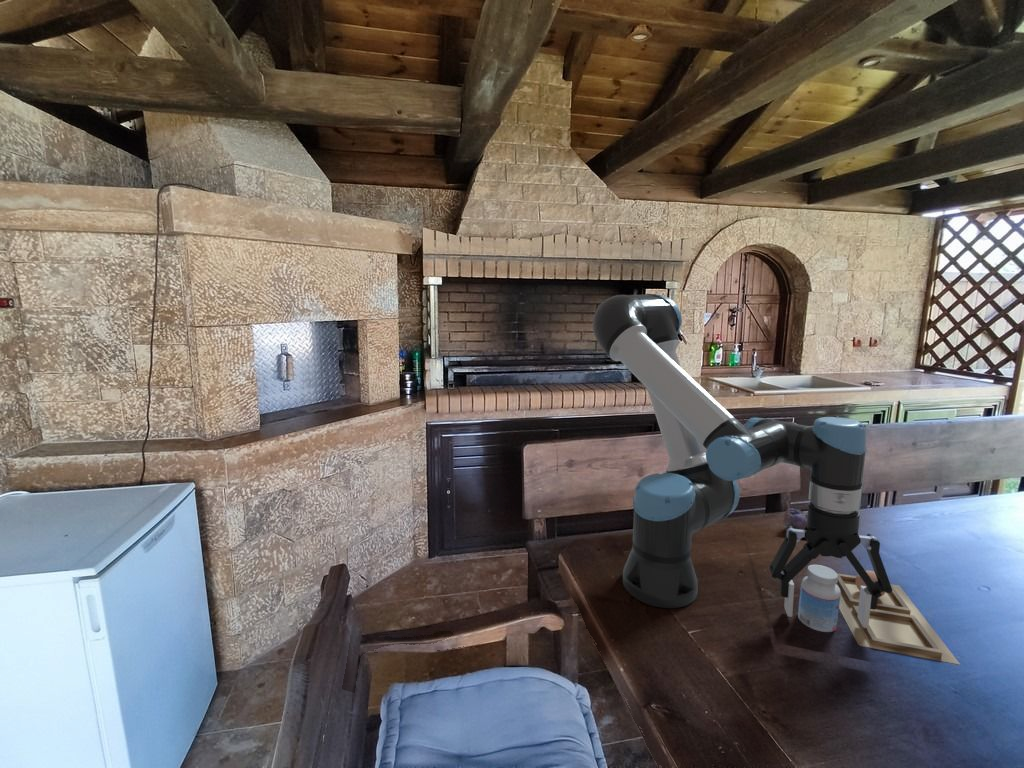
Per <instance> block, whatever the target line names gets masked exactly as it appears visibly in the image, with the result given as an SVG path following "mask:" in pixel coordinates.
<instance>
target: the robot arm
mask: <svg viewBox="0 0 1024 768" xmlns="http://www.w3.org/2000/svg"><path fill="white" fill-rule="evenodd" d="M682 324H683V318H682V313H681V311H680V308H679V306H678V305H677V304H676V302H674V300H672V299H671V298H669V297H667V296H666V295H662V294H657V293H645V294H617V295H613V296H611V297H607V299H605V300H603V301H602V302H601V303H600V304H599V306H598V307H597V308H596V311H595V312H594V315H593V318H592V331H593V335H594V338H595V340H596V342H597V344H598V345H599V346H600V348H601V349H602V350H603V351H604V352H605V354H606V355H607V356H608V357H609V358H610V359H611V360H612V361H614V362H621V364H623V365H624V366H625V368H627V370H628V371H630V372H631V374H632V375H634V377H635V378H637V380H638V381H639V382H640V383H641V384H643V386H644V387H645V388H646V389H647V392H648V395H649V398H650V402H651V405H652V408H653V411H654V415H655V417H656V420H657V424H658V427H659V430H660V434H661V437H662V440H663V443H664V447H665V450H666V452H667V456H668V461H669V462H668V464H667V465H666V467H665V472H662V473H658V472H656V473H652V474H648V475H646V476H644V477H643V478H641V479H640V480H639V481H638V482H637V483H636V485H635V490H634V495H633V501H632V506H633V517H632V518H633V520H632V547H631V550H630V552H629V555H628V556H627V560H626V562H625V564H624V566H623V570H622V584H623V587H624V588H625V590H626V592H628V594H629V595H630V596H631V597H633V598H635V599H636V600H637V601H640V602H641V603H644V604H646V605H649V606H652V607H657V608H661V609H662V608H663V609H678V608H679V609H680V608H682V607H683V608H684V607H686V606H689V605H690V604H692V603H693V602H694V601H696V598H697V596H698V585H699V584H698V583H699V582H698V578H697V575H696V572H695V568H694V564H693V560H692V557H691V555H692V553H691V550H692V538H693V537H692V536H693V534H695V533H697V532H699V531H701V530H703V529H705V528H706V527H708V526H711V525H713V524H715V523H718V522H721V521H722V520H725V519H726V518H727V517H728V516H729V515H731V514H732V513H733V512H734V511H735V510H736V508H737V506H738V505H739V501H740V495H741V493H740V488H739V484H738V480H739V481H740V480H743V479H747V478H750V477H752V476H755V475H756V474H758V473H759V472H761V471H763V470H765V469H768V468H771V467H774V466H775V465H777V464H780V463H785V464H787V465H788V464H789V465H792V466H793V465H794V466H797V467H801V468H807V469H810V470H809V471H810V472H809V473H810V475H809V487H808V500H809V502H808V505H807V514H808V515H807V526H806V527H805V529H804V530H800V529H793V527H792V526H788V527H787V528H785V537H784V539H783V541H782V543H781V545H780V546H779V549H778V550H777V552H776V554H775V556H774V558H773V560H772V561H771V564H770V565H769V568H768V569H769V571H770V572H769V573H770V575H771V577H772V578H773V579H778V580H779V588H778V589H779V593H780V596H781V597H782V598H784V603H783V604H784V606H783V607H784V608H783V609H784V611H785V612H786V615H787V617H790V618H791V617H792V618H793V610H794V609H793V608H794V594H795V593H794V592H795V583H794V581H793V579H794V578H795V577H796V576H797V575H798V574H799V573H800V572H802V570H803V569H804V568H805V567H806V566H807V565H808V564H809V563H810V562H811V561H813V560H815V559H817V558H818V557H819V556H820V557H833V558H836V559H842V558H844V557H846V558H847V560H848V561H849V563H850V565H851V566H852V567H853V568H854V569H855V571H856V572H857V575H858V574H859V575H860V577H861V578H862V580H863V581H864V582H865V584H866V585H867V588H866V586H861V587H860V597H859V607H858V620H859V621H860V623H861V625H862V627H863V628H868V625H869V616H870V609H873V610H875V609H876V607H877V598H878V597H880V596H881V592H886V593H891V592H892V587H891V585H890V584H891V582H890V580H889V577H888V574H887V571H886V568H885V565H884V562H883V560H882V558H881V557H882V556H881V555H880V548H881V542H880V541H879V540H878V538H877V537H876V536H875V535H874V534H873V533H868V534H866V535H861V534H859V530H860V529H859V528H860V516H861V515H860V514H861V513H860V508H861V503H862V502H861V501H862V492H863V491H862V490H863V479H864V478H863V477H864V469H865V460H866V453H867V447H866V446H867V445H866V444H867V443H866V442H867V430H866V426H865V425H864V424H863V423H862V422H860V421H859V420H855V419H851V418H847V417H834V416H824V417H818V418H816V419H815V420H814V422H813V425H811V426H810V425H804V424H798V423H793V422H787V421H782V420H778V419H776V420H775V419H773V418H769V417H767V418H765V417H764V418H763V417H750V418H749V419H748V420H746V422H745V423H743V424H742V423H741V422H740V421H739V420H738V419H737V418H735V416H733V415H732V414H731V413H730V412H729V410H727V409H726V408H725V407H724V406H722V404H721V403H720V402H718V400H716V399H715V398H714V397H713V396H712V395H711V394H710V393H709V392H708V391H707V390H706V389H705V388H704V387H703V386H701V385H700V384H699V383H698V382H697V381H696V379H694V378H693V377H692V376H691V375H690V374H689V373H688V372H686V371H685V370H684V369H683V367H682V366H681V363H680V361H679V357H678V354H677V352H676V351H677V348H678V346H679V344H680V338H679V336H678V335H679V333H680V331H681V326H682ZM802 538H805V539H806V541H807V542H806V543H804V544H803V547H802V549H801V550H799V552H798V553H796V555H794V556H793V558H792V559H790V558H791V556H792V554H793V552H794V550H795V548H796V546H797V543H799V542H800V541H801V539H802ZM860 544H862V547H863V548H864V549H865V550H866V553H867V555H868V558H869V560H870V563H871V565H872V566H871V567H872V569H873V571H874V572H875V575H876V577H877V580H878V581H875V582H873V581H872V580H871V578H870V577H869V575H868V574H867V573H866V570H865V569H864V567H863V565H862V564H861V562H860V560H858V559H857V557H856V555H855V554H854V553H853V550H854V549H855V548H856V547H858V546H859V545H860ZM789 559H790V561H789ZM788 561H789V562H788Z"/></svg>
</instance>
